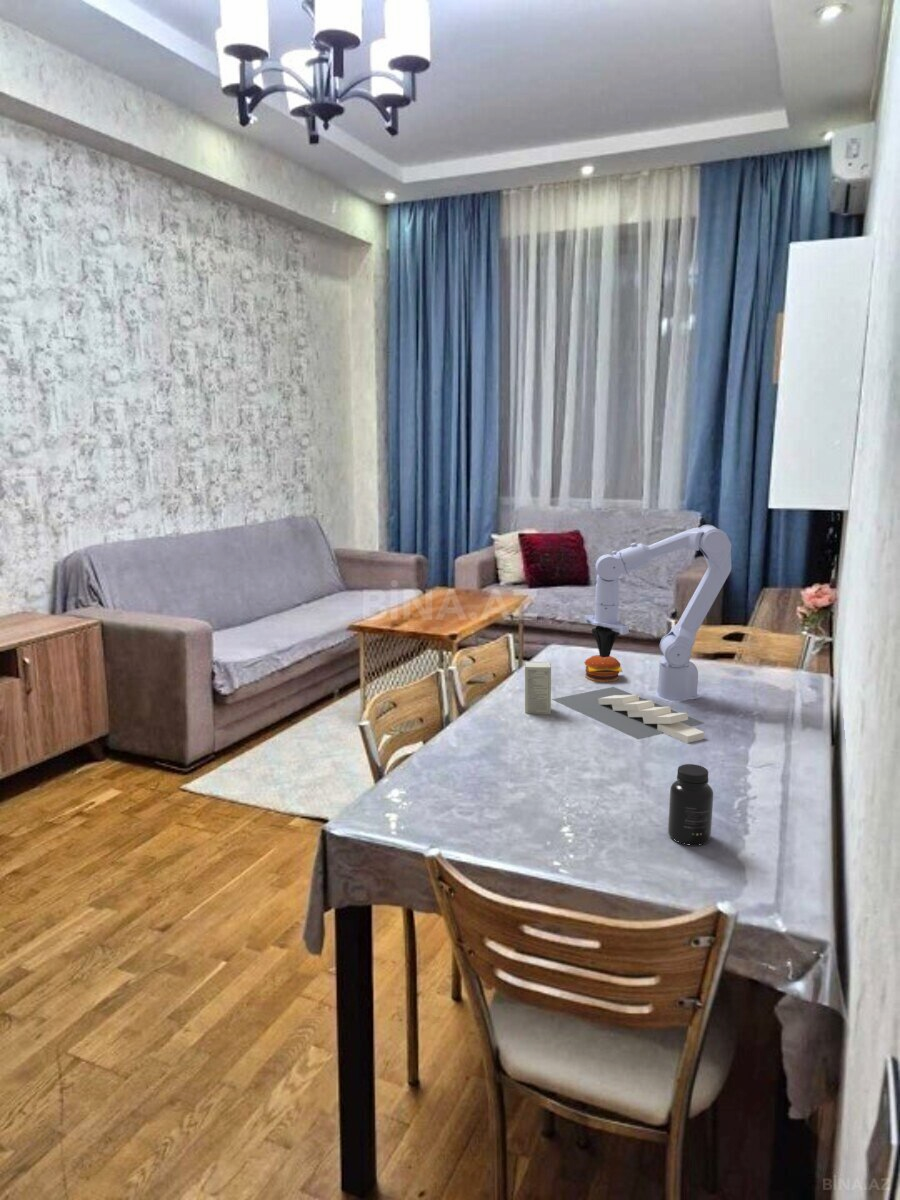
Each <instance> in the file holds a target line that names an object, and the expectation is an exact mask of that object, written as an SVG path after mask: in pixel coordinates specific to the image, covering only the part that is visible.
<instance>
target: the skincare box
mask: <svg viewBox="0 0 900 1200" xmlns="http://www.w3.org/2000/svg"><path fill="white" fill-rule="evenodd" d="M551 711H552V663H551V661H525V662H524V714H536V715H537V714H539V715H540V714H541V715H551V714H552V713H551Z"/></svg>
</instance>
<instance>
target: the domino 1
mask: <svg viewBox="0 0 900 1200" xmlns="http://www.w3.org/2000/svg"><path fill="white" fill-rule="evenodd" d="M639 697H640V696H639V694H633V695H613V696H608V697H603V698H598V701H599V705H608V704H627V703H632V702H636V701H639Z"/></svg>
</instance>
